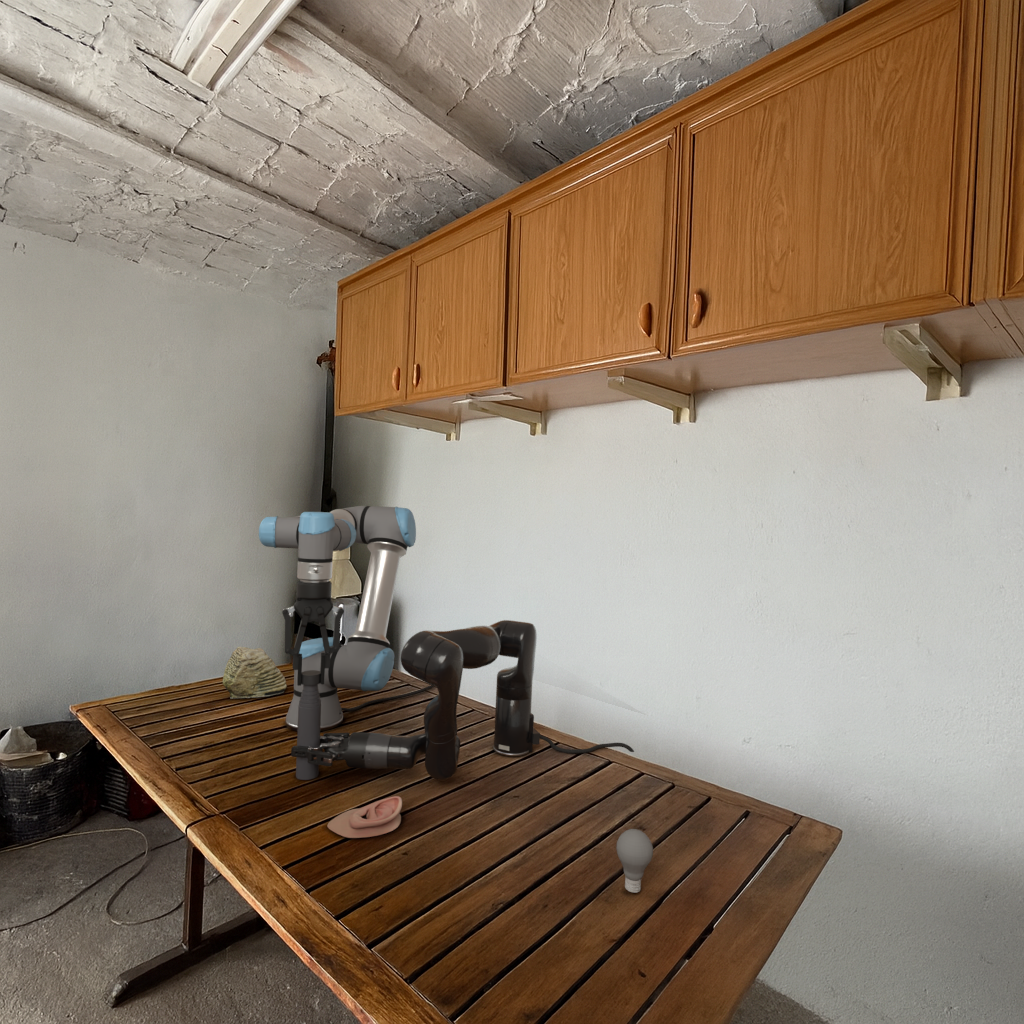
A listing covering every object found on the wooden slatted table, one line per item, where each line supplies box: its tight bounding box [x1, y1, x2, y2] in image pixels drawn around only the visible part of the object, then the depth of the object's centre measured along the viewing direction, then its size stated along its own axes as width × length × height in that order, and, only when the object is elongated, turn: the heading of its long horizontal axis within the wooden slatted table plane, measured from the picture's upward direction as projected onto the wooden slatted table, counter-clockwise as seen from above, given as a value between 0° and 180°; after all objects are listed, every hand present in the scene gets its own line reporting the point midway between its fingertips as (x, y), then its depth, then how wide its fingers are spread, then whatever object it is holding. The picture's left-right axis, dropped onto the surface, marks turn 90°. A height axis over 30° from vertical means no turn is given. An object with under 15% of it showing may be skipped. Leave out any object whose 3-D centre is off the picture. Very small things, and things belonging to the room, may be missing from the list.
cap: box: [301, 670, 321, 686], centre depth 143 cm, size 4×4×2 cm
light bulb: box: [615, 828, 654, 894], centre depth 106 cm, size 6×6×10 cm
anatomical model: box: [327, 795, 403, 839], centre depth 123 cm, size 13×4×12 cm
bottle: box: [295, 684, 321, 781], centre depth 143 cm, size 5×5×23 cm
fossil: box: [222, 646, 288, 699], centre depth 198 cm, size 9×18×15 cm, turn 132°
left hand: (310, 682), depth 143 cm, fingers closed on cap, 4 cm apart
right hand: (296, 746), depth 144 cm, fingers closed on bottle, 5 cm apart
